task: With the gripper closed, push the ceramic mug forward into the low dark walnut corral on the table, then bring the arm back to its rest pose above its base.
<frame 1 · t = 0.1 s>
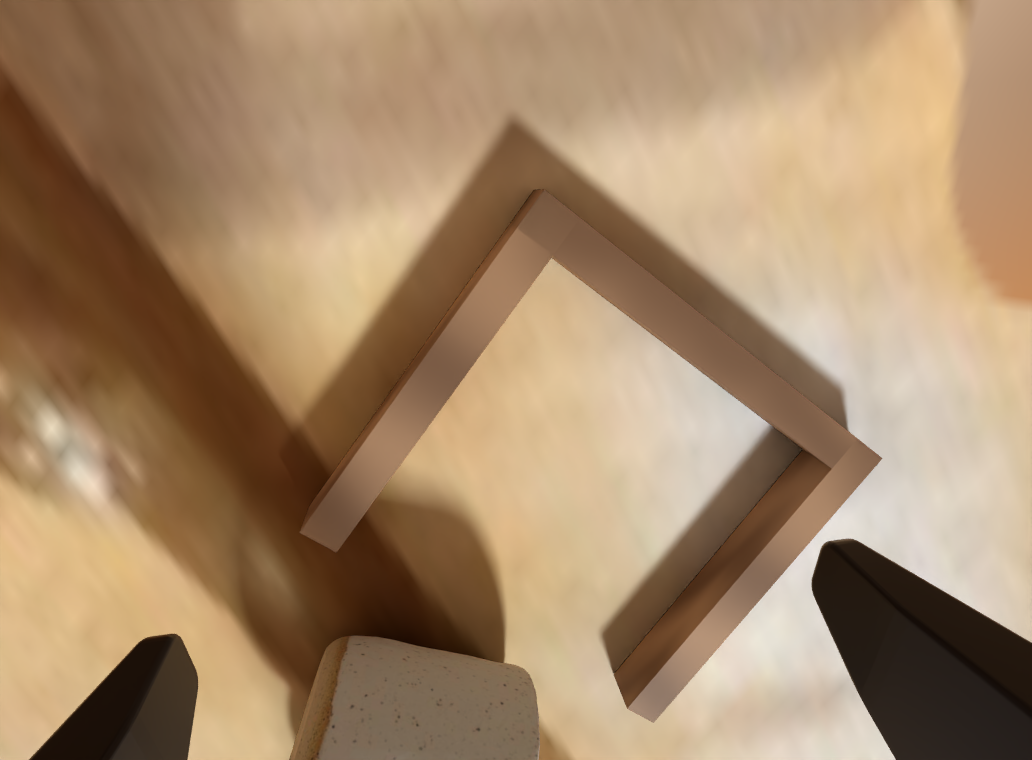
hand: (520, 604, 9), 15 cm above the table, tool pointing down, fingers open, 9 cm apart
walnut corral: (589, 476, 26), on the table
ceramic mug: (406, 704, 28), on the table
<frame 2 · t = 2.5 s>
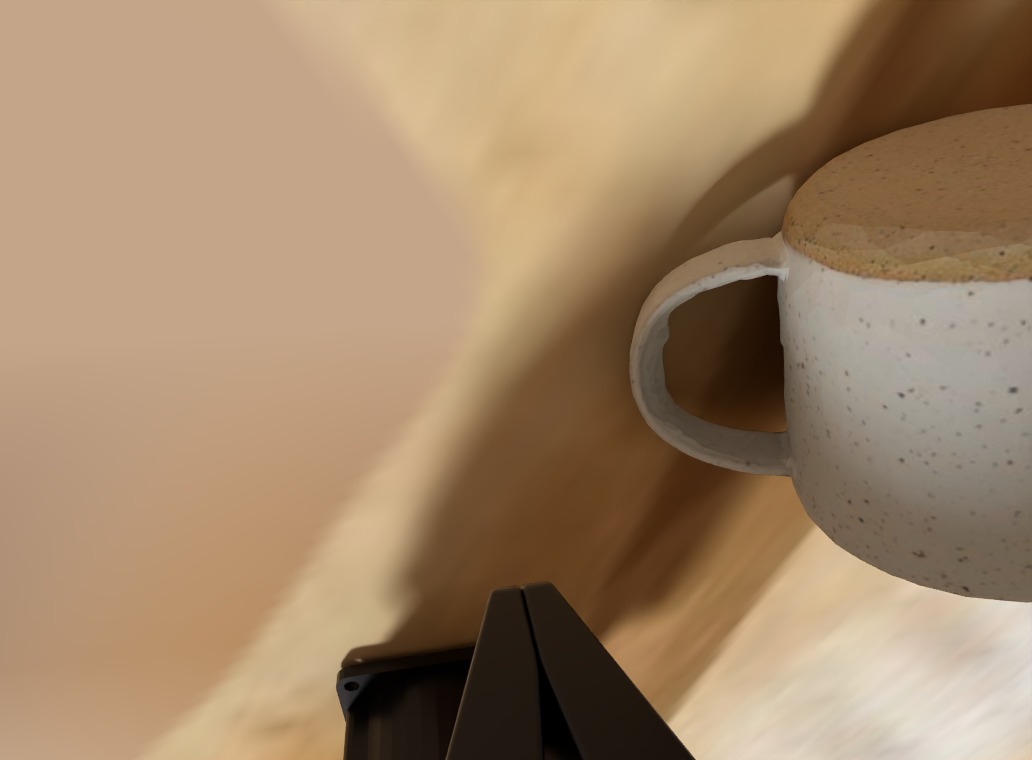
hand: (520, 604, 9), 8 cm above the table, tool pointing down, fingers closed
ceramic mug: (812, 301, 17), on the table
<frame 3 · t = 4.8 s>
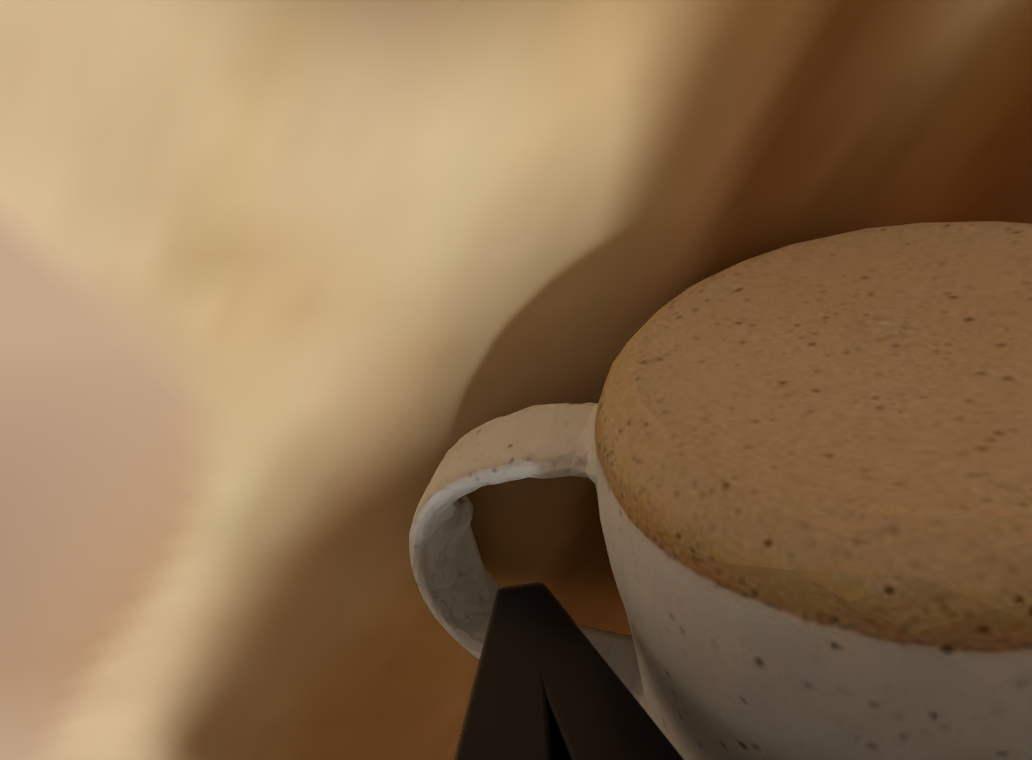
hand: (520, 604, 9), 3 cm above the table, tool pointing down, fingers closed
ceramic mug: (694, 456, 12), on the table, touching gripper
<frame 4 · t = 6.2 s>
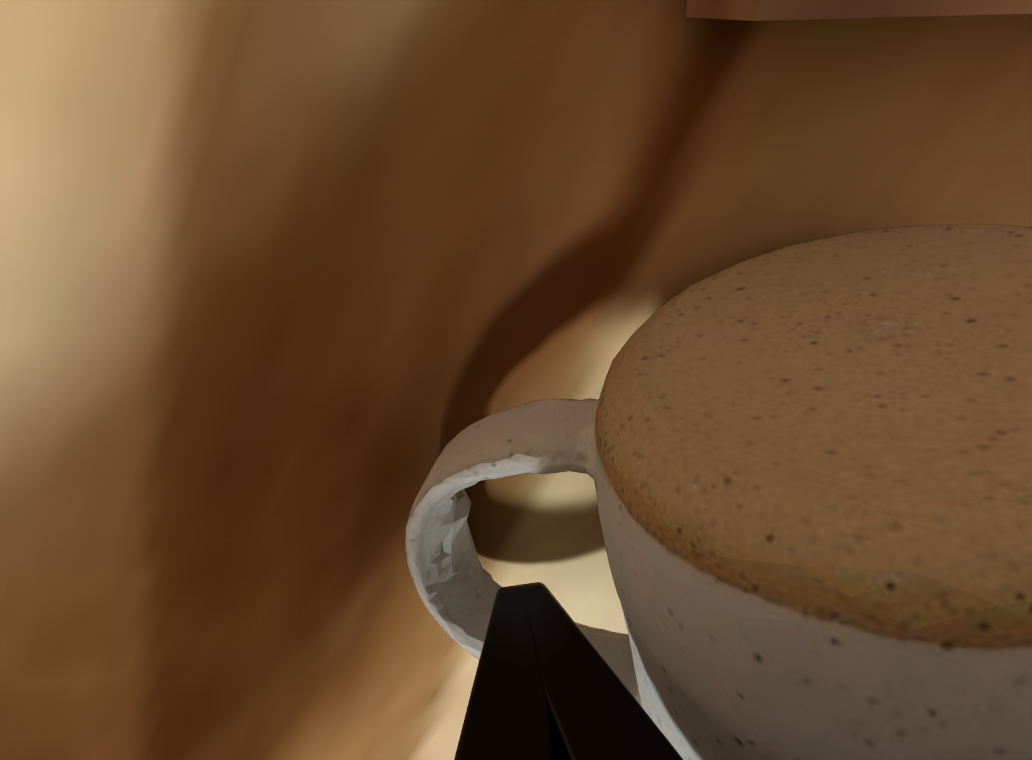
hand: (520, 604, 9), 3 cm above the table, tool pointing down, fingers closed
walnut corral: (982, 413, 13), on the table
ceramic mug: (691, 455, 12), on the table, touching gripper
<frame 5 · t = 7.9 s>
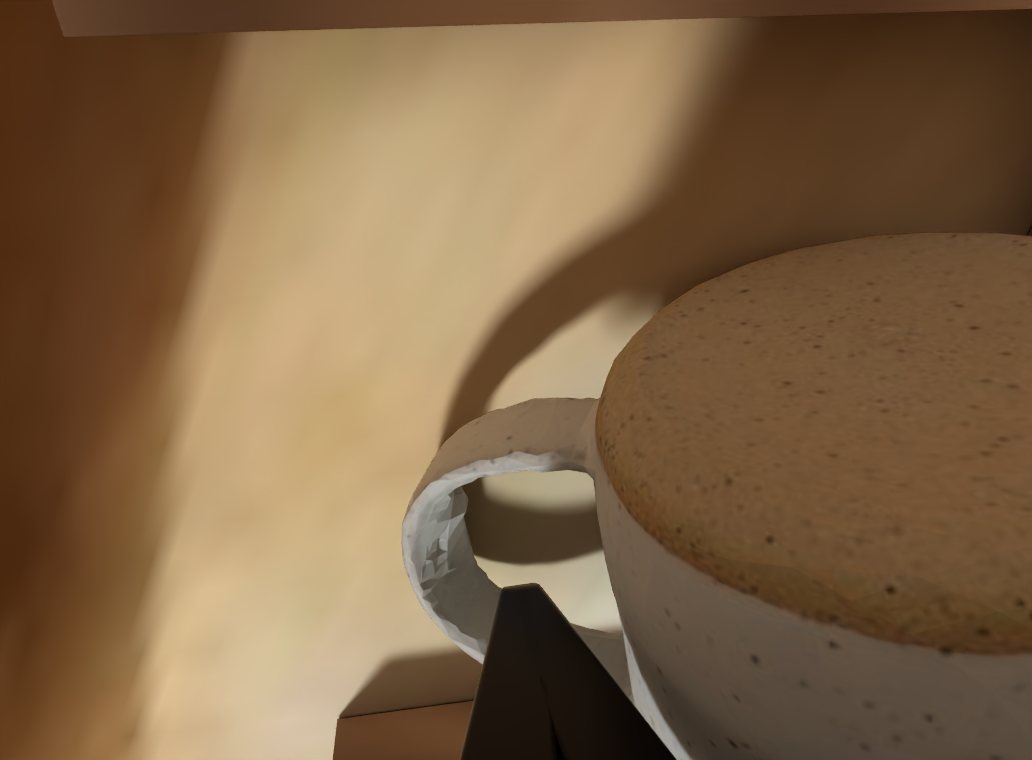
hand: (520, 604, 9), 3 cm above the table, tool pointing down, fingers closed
walnut corral: (658, 446, 12), on the table
ceramic mug: (689, 458, 12), on the table, touching gripper, walnut corral
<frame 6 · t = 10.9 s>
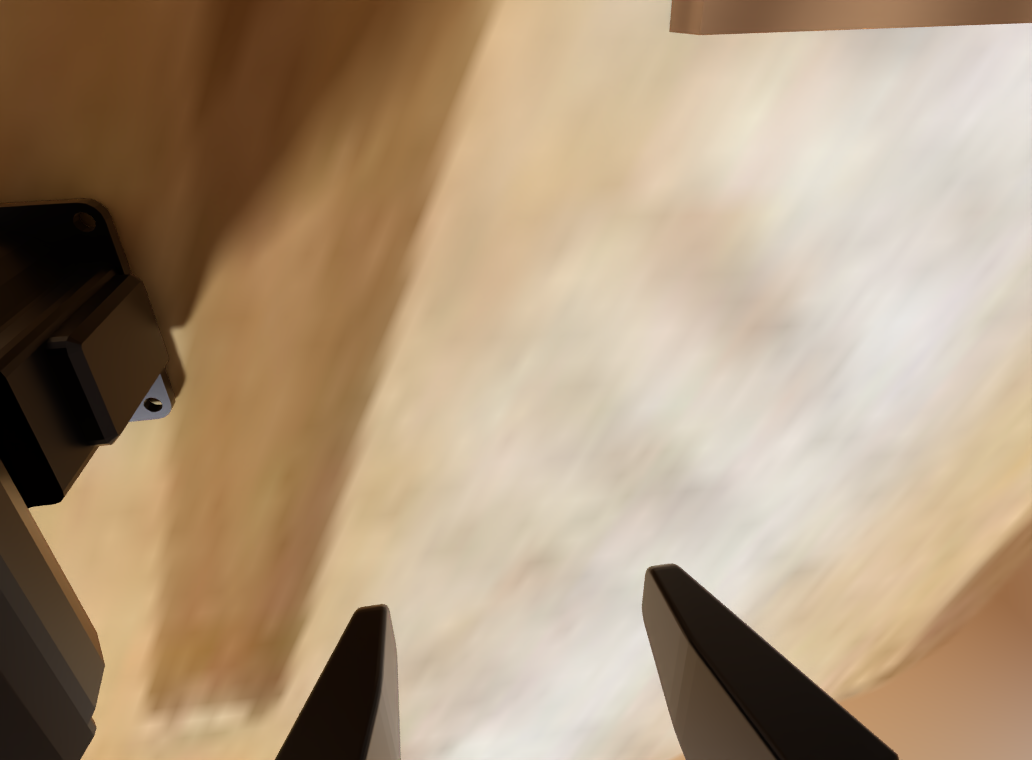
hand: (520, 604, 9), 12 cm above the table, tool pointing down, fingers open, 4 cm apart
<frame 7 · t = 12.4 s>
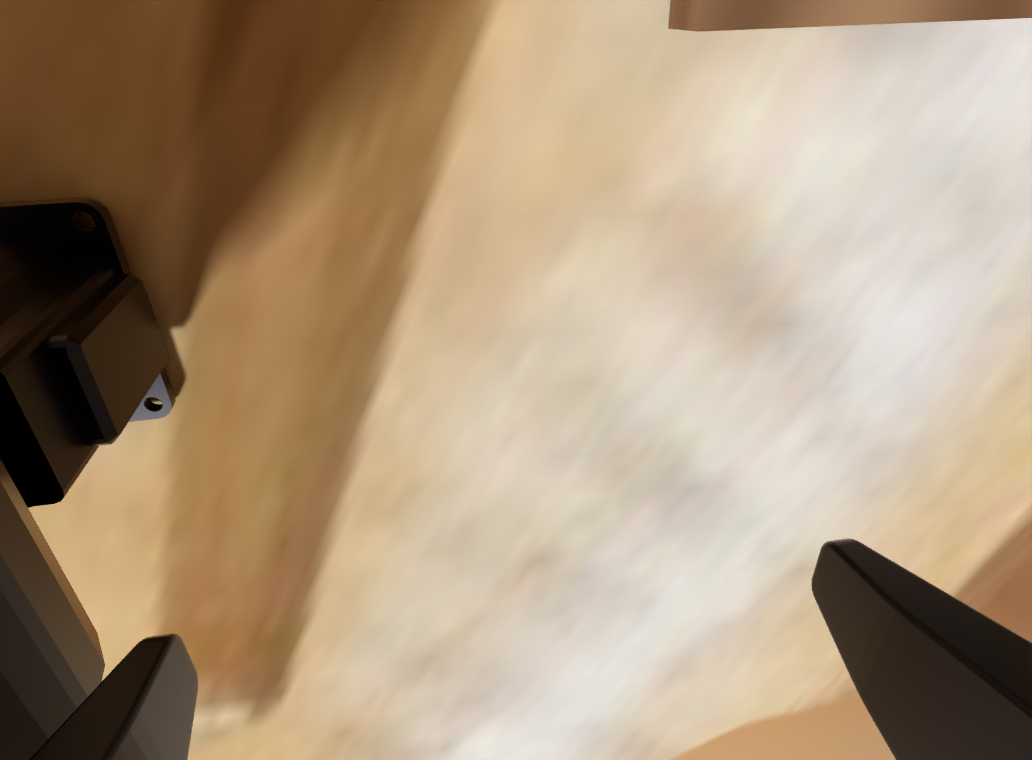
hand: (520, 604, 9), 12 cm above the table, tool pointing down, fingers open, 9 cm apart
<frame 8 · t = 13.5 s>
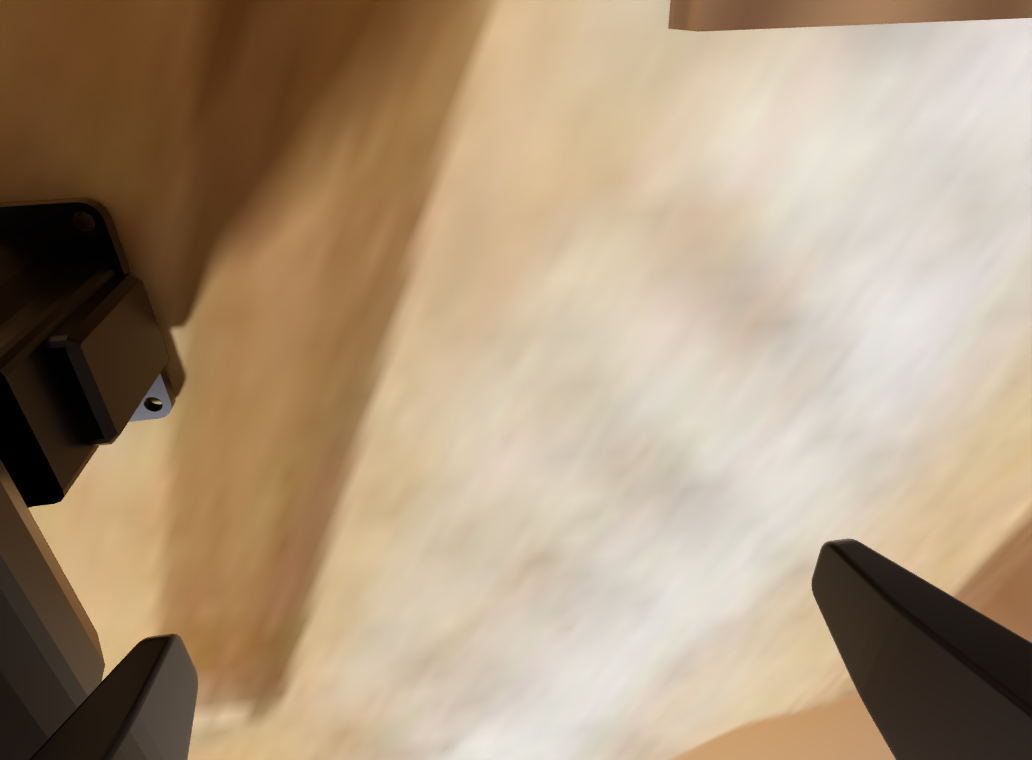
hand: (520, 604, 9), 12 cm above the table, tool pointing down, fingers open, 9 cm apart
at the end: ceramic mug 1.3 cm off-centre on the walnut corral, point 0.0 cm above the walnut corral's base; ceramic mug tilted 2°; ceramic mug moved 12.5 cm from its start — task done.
